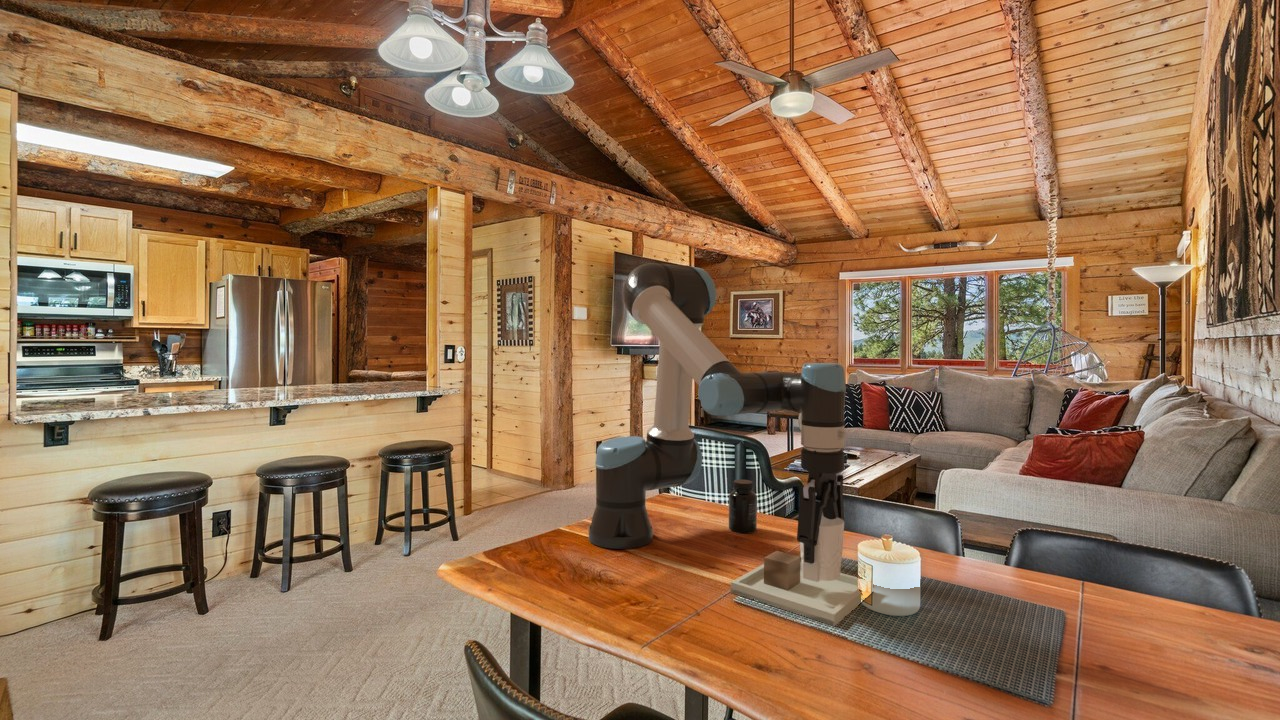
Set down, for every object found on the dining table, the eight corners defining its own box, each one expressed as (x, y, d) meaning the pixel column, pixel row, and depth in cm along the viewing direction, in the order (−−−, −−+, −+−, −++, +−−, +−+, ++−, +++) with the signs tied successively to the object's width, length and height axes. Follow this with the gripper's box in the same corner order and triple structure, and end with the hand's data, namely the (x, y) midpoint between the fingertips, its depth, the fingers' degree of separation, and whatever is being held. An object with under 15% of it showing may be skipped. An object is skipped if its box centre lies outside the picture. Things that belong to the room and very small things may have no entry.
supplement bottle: (753, 525, 155) (753, 478, 154) (759, 534, 148) (760, 484, 147) (726, 525, 154) (726, 478, 154) (731, 534, 147) (732, 485, 147)
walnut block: (763, 583, 116) (764, 557, 116) (776, 575, 120) (776, 550, 120) (787, 590, 113) (788, 564, 112) (800, 582, 116) (800, 556, 116)
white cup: (849, 583, 107) (850, 526, 107) (804, 582, 108) (804, 526, 107) (836, 566, 115) (837, 513, 115) (794, 565, 115) (794, 513, 115)
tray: (730, 592, 114) (730, 582, 113) (777, 565, 127) (777, 556, 127) (834, 626, 100) (834, 614, 100) (873, 592, 114) (874, 581, 114)
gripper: (817, 459, 100) (816, 596, 101) (864, 443, 116) (862, 562, 117) (776, 453, 105) (775, 584, 106) (826, 439, 121) (825, 553, 121)
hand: (821, 572), depth 111 cm, fingers closed on white cup, 7 cm apart
